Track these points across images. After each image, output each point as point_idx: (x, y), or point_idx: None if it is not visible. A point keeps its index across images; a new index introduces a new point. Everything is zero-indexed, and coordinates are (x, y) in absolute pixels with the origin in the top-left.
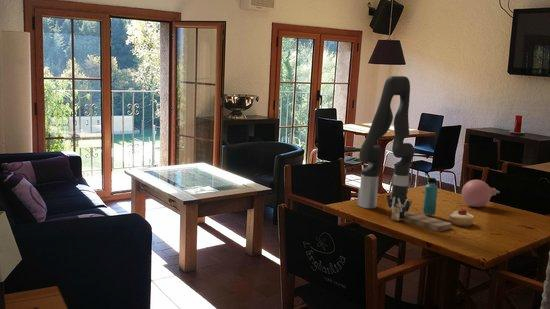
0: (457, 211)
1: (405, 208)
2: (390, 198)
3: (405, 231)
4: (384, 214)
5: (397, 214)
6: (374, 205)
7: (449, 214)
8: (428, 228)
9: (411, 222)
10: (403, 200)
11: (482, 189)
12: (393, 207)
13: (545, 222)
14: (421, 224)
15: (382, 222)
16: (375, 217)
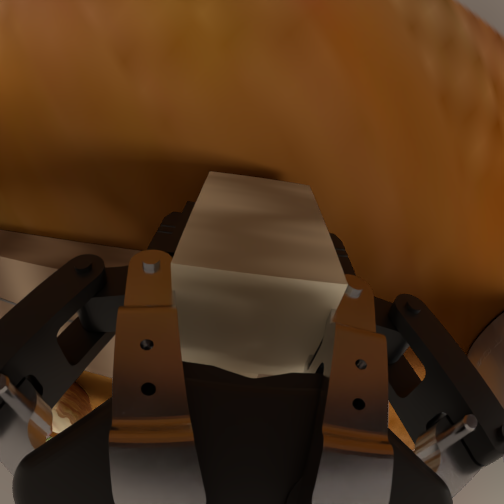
0: (60, 430)
1: (46, 290)
2: (446, 431)
3: (23, 9)
4: (416, 293)
5: (214, 205)
6: (483, 349)
7: (58, 409)
8: (4, 230)
9: (123, 253)
10: (47, 448)
11: None
12: (318, 277)
13: (50, 436)
14: (36, 244)
15: (336, 31)
16: (459, 160)
